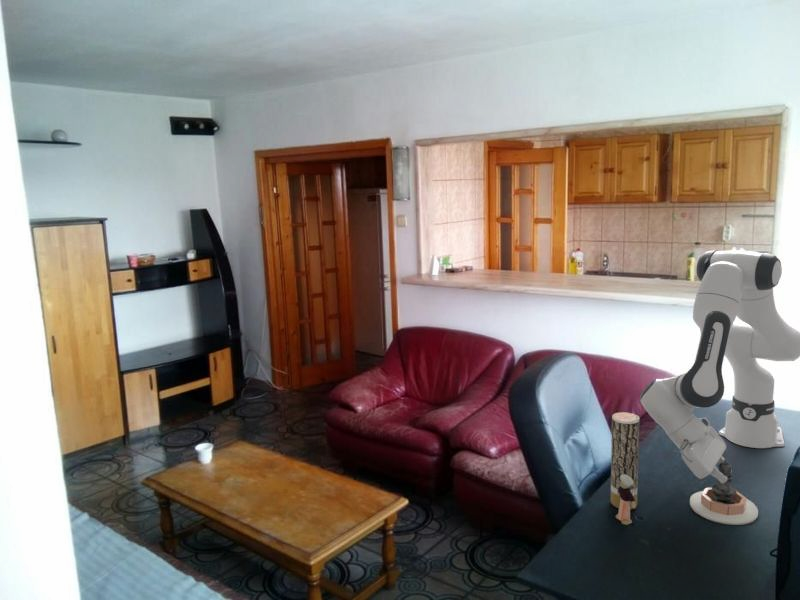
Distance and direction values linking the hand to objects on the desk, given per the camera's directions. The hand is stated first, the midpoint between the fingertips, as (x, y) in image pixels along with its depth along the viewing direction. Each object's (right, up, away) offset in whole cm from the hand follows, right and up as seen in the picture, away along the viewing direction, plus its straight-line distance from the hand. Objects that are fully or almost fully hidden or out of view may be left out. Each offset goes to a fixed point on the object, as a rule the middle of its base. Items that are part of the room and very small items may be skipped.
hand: (727, 477), depth 163 cm
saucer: (0, -9, +2) cm, 9 cm away
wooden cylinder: (-25, -9, +6) cm, 27 cm away
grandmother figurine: (-27, -11, -2) cm, 30 cm away
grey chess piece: (0, -7, +2) cm, 7 cm away
